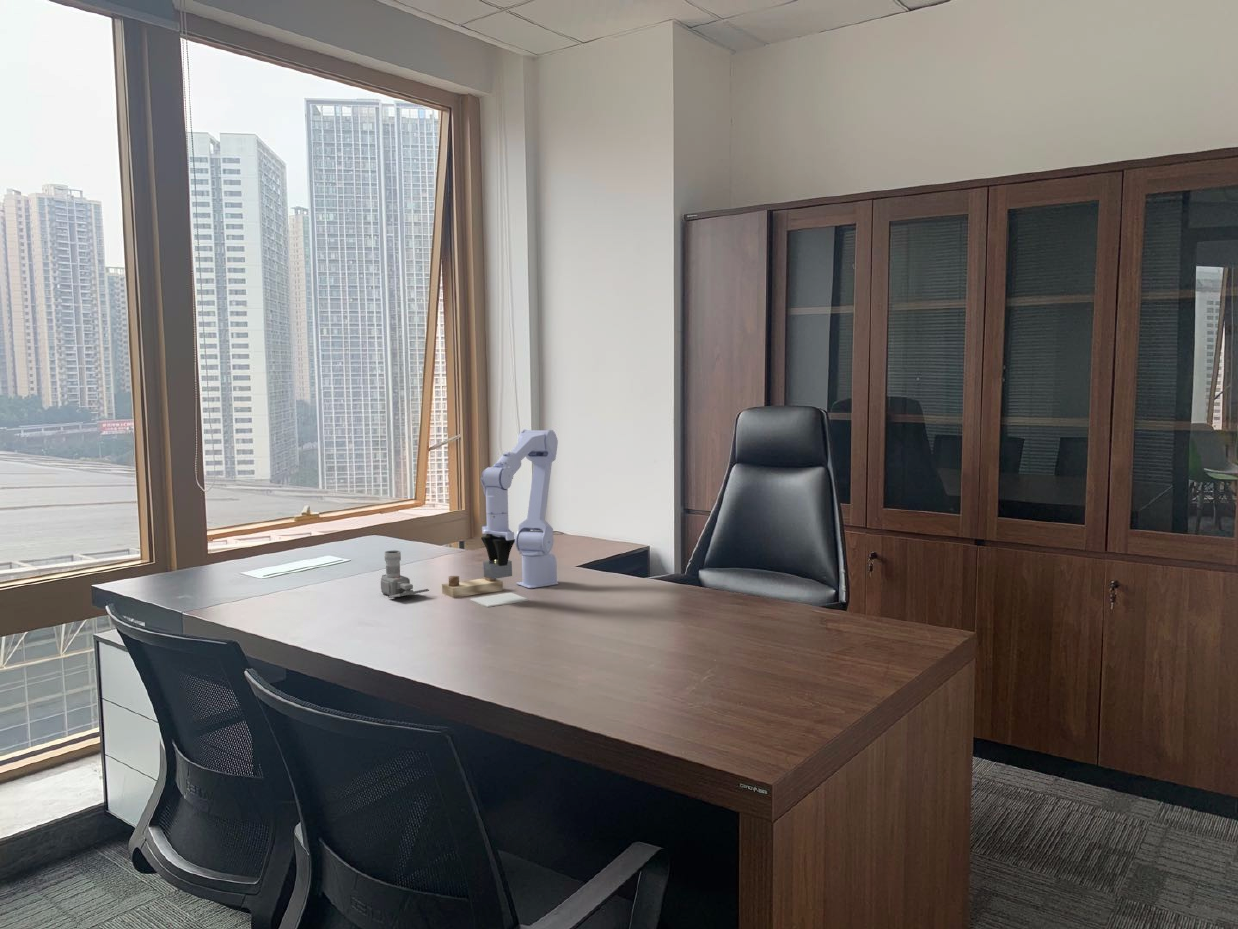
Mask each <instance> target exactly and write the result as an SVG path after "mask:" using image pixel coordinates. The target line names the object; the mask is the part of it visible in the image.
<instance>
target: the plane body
mask: <svg viewBox="0 0 1238 929" xmlns="http://www.w3.org/2000/svg"><path fill="white" fill-rule="evenodd" d="M503 582H504V581H502V580H500V579H498V578H497V579H489V578H487V577H483V578H476V579H470V580H463V581H462V580H461V581H460V576H459V575H450V576H448V583H443V584H441V592H442V593H441V594H443V595H445V596H447V597H450V598H452V599H453V598H462V597H469V596H474V595H475V596H476V595H481V594H488V593H493V592H500V591H504V583H503Z"/></svg>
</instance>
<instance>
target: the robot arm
mask: <svg viewBox="0 0 1238 929" xmlns="http://www.w3.org/2000/svg"><path fill="white" fill-rule="evenodd" d="M558 443H559V440H558V437H557V434H556V433H555V431H554V430H552V429H548V430H547V429H546V430H541V429H540V430H539V429H538V430H533V429H531V430H528V429H522V430H521V431H520V432H519V433H518V436H517V443H516V445H514V447H513V449H512V450H511V451H504V452H503V453H502V455H501V457H499V459H498V460H497V461H496V462H495V463H494V464H493V465H492V466H491V467H490V466H488V467H486V468H485V469H484V470H483V471H482V473H481V478H480V484H481V486H482V489H483V490H482V491H483V494H484V496H485V510H486V511H485V512H486V513H485V514H486V525H483V526H481V533H482V535H485V536H481V539H480V540H481V541H482V543H483V544H484V547H485V549H486V552H487V556H488V559H489V560H488V561H491V560H495V559H498V564H499V566H505V565H507V563H508V560H509V559H510V554H511V551H512V547H513V545H514V546H515V548H516V551H518V553H519V555H521V575H522V576H521V579H522V581H517V582H516V585H519V586H521V587H525V588H527V589H533V588H535V589H536V588H541V587H547V586H548V587H549V586H553V585H559V581H558V572H557V570H558V569H557V559H556V555H555V554H554V553H553V552H552V549H553V547H554V536H553V535H554V532H553V531H554V528H553V527H552V525H551V524H550V523H549V522H547V521H546V515H547V507H548V506H547V504H548V498H549V488H550V482H551V481H550V480H551V473H552V463H553V462H554V461H556V458H557V453H558ZM524 458H526V459H527V460H528V461H530V462H532V465H533V470H532V476H531V483H530V493H529V501H528V507H527V508H528V509H527V517H526V519H524V520H523V521H522V522H521V523H519V524H518V526H517V527H518V528H517V530H516V534H515V532H514V531H512V530H511V529H510V528H509V495H508V494H509V490H508V489H510V488H511V486H512V481H513V479H514V476H515V474H516V473H517V472H518V471H519V470H520V468H521V467H522V460H523V459H524Z"/></svg>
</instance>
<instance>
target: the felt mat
mask: <svg viewBox="0 0 1238 929" xmlns="http://www.w3.org/2000/svg"><path fill="white" fill-rule="evenodd" d="M470 601H471V602H474V603H476V604H478V605H481V606H483V607H486V608H490V607H497V606H503V605H509V604H516V603H522V602H528V601H529V598H527V597H525V596H521V595H519V594H516V593H514V592H505V593H500V594H493V595H486V596H480V597H479V596H478V597H473V598H470Z"/></svg>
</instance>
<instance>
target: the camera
mask: <svg viewBox="0 0 1238 929" xmlns="http://www.w3.org/2000/svg"><path fill="white" fill-rule="evenodd" d="M401 553H402V552H401V550H396V549H394V550H387V551H384V562H385V574H382V575H381V578H380V592H381V593H382V594H384V595H386V596H388V597H387V598H388V599H392V598H393V599H395V598H400V597H406V595H407V596H411V595H416V594H422V593H426V592H429V591H430V589H428V588H424V589H420V590H415V591H414V590H413V589H414V585H413V583H412V584H411V579H410V578H409V577H407V576H404V575H401V562H400V561H401V558H402V556H401Z"/></svg>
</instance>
